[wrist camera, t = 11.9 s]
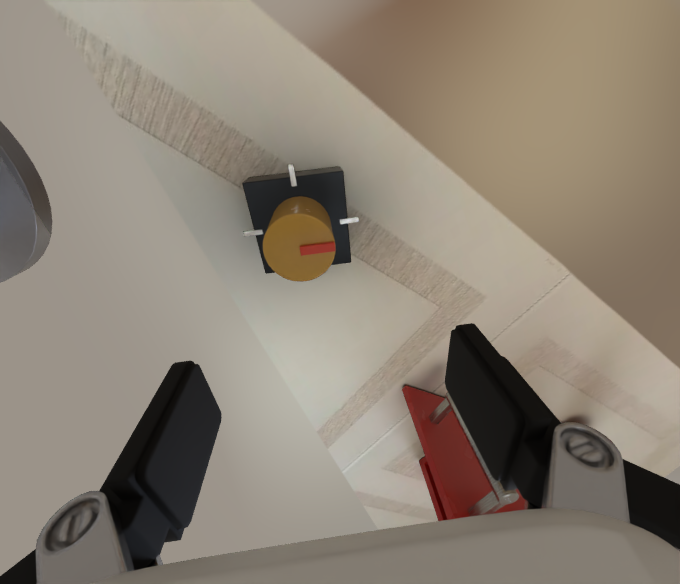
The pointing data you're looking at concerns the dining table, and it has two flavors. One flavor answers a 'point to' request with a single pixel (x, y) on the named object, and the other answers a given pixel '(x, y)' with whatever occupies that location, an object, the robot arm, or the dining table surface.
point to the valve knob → (299, 240)
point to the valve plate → (310, 183)
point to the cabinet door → (456, 459)
